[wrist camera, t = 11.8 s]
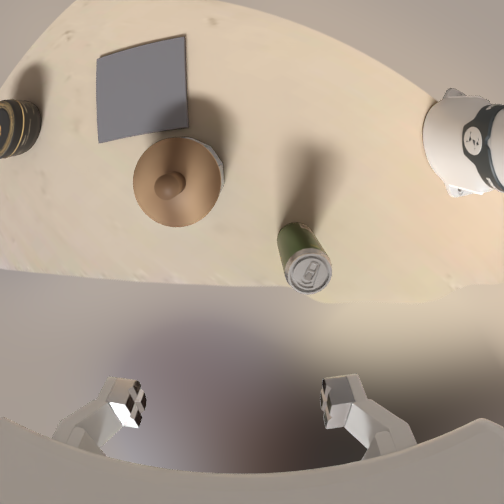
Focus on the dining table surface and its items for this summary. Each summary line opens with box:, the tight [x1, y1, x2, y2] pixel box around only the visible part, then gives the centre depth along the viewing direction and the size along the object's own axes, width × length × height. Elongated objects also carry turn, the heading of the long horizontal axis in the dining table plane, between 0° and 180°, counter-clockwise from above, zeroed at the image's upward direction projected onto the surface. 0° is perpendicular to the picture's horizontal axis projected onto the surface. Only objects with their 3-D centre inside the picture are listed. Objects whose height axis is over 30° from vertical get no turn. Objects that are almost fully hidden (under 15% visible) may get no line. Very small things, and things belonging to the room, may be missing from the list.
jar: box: [0, 99, 41, 159], centre depth 30 cm, size 10×10×8 cm
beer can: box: [277, 222, 332, 295], centre depth 36 cm, size 5×5×12 cm
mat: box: [96, 37, 189, 143], centre depth 33 cm, size 14×14×1 cm
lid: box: [133, 137, 221, 227], centre depth 31 cm, size 11×11×5 cm
